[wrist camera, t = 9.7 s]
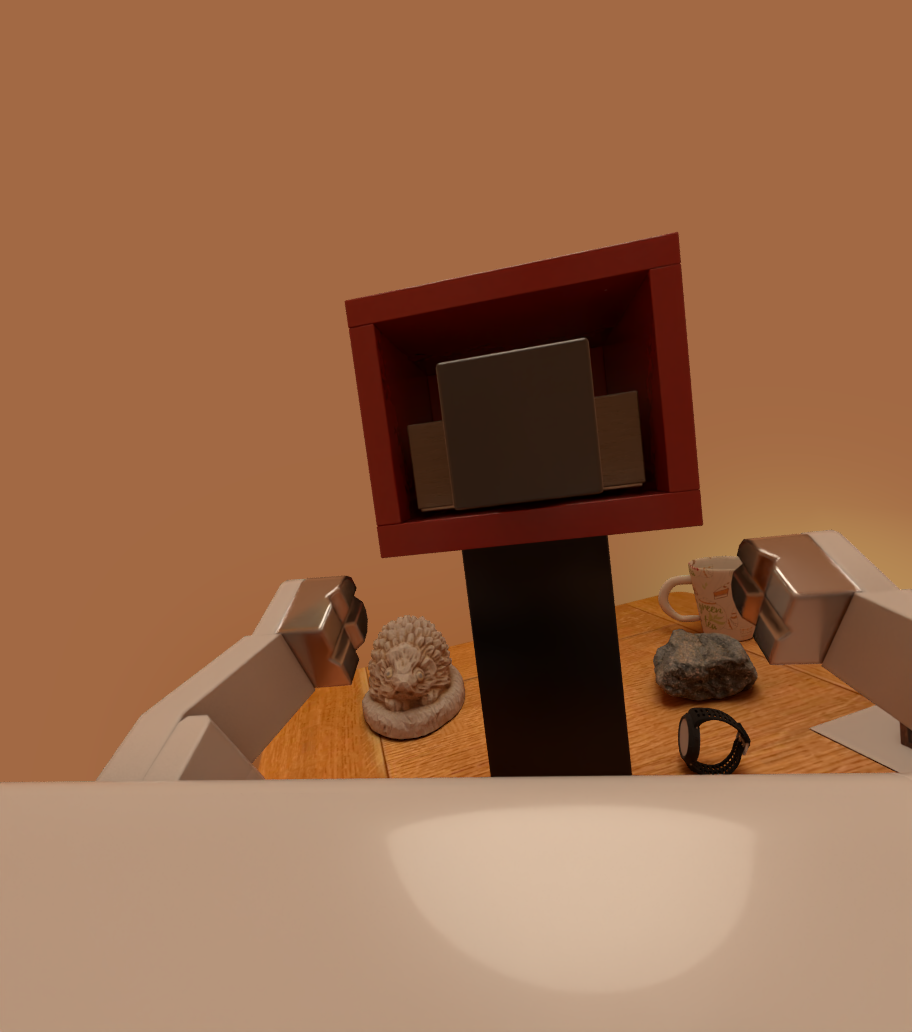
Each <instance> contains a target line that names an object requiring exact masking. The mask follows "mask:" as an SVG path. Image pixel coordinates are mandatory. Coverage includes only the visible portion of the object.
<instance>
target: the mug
mask: <svg viewBox="0 0 912 1032" xmlns="http://www.w3.org/2000/svg"><path fill="white" fill-rule="evenodd" d="M741 564H743V563H742V562H741V560H740V559H739V557H734V556H719V557H706V558H699V559H695V560H692V561H690V562H689V563H688V566H689V572H690V575H684V576H676V577H672V578H670V579H668V580H667V581H666V582H665V583H664V584H663V586H662V587H661V589H660V592H659V604H660V606H661V608H662V610H663V611H664V612H665V613H666V614H667V615H668V616H670V617H672V618H673V619H675V620H678V621H681V622H694V621H700V620H701V624H702V628H703V632H704V633H720V634H724V635H728V636H730V637H732V638H734V639H736V640H738V641H743V640H748V639H750V638H752V637H753V633H754V630H755V626H754V625H753V624H751V623H749V622H748V621H746V620H745V619H743V618H742V617H741V615H740V614H739V612H738V610H737V609H736V606H735V603H734V601H733V598H732V590H731V581H732V575H733V572H734V571H735V570H736V569H737V568H738V567H739V566H740V565H741ZM680 584H692V585H693V590H694V594H695V598H696V602H697V607H698V611H699V615H700V616H698V615H689V616H681V615H679V614H678V613H676V612H675V611H674V610H673V609H672V608H671V606H670V604H669V602H668V595H669V592H670V591H671V589H672V588H673V587H675V586H676V585H680Z"/></svg>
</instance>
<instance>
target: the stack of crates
mask: <svg viewBox="0 0 912 1032" xmlns="http://www.w3.org/2000/svg"><path fill="white" fill-rule="evenodd" d="M810 729H812V730H814V731H816V732H818V733H820V734H822V735H824V736H826V737H828V738H830V739H832V740H834V741H836V742H839V743H841V744H843V745H845V746H847V747H849V748H851V749H853V750H855V751H857V752H859V753H861V754H863V755H865V756H867V757H869V758H871V759H873V760H875V761H877V762H879V763H881V764H883V765H885V766H887V767H889V768H891V769H893V770H895V771H897V772H899V773H912V730H911V729H909V728H908V727H906V726H905V725H904V724H902V723H901V722H899V721H898V720H897V719H895V718H894V717H892V716H891V715H890V714H888V713H887V712H885V711H884V710H883V709H881V708H880V707H878V706H877V705H875V706H872V707H869V708H866V709H864V710H861V711H858V712H855V713H852V714H849V715H846V716H843V717H840V718H837V719H835V720H832V721H829V722H826V723H823V724H820V725H817V726H814V727H811V728H810Z"/></svg>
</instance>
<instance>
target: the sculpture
mask: <svg viewBox="0 0 912 1032" xmlns="http://www.w3.org/2000/svg"><path fill="white" fill-rule="evenodd" d="M373 646H374V650H372V653H371V657H372V659H371V660H370V662H369V665H368V670H370V677H369V683H370V685H371V686H370V688H369V691H368V692H367V693H366V694H365V697H364V699H363V701H362V705H363V713H364V716H365V721H366V722H367V723H368V724H369V725H370V728H371V729H372V730H374V731H375V732H376V733H379V734H381V735H383V736H385V737H390V738H396V739H406V738H415V737H420V736H422V735H423V736H424V735H426V734H428V733H430V732H432V731H434V730H436V729H438V728H439V727H441V726H442V725H444V724H445V723H446V722H447V721H449V720H451V719H452V718H453V717H454V716H455V715H456V714H457V713H458V712H459V710H460V709H461V707H462V705H463V702H464V699H465V689H464V683H463V679H462V676H461V674H460V673H459V671H458V670H457V669H456V668H455V667H454V666H453V665H452V664H451V662H452V660H451V658H449V656H450V652H449V651H448V648H449V647H448V645H447V644H446V641H445V638H444V637H442V634H441V632H437V630H436V629H435V625H434V624H431V623H430V621H427V620H425V618H424V617H423V616H422V617H420V618H419V619H417V618H416V617H415V616H412V617H410V616H409V615H405V616H404V617H403V618H402V617H399V618H398V619H397V621H390V623H388V624H387V625H384V626H383V628H382V632H380V633H379V634H378V639H376V640H375V641H374V644H373Z"/></svg>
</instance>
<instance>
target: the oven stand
mask: <svg viewBox="0 0 912 1032" xmlns="http://www.w3.org/2000/svg"><path fill="white" fill-rule="evenodd" d="M680 263H681V260H680V249H679V235H678V232H675V233H670V234H666V235H661V236H656V237H651V238H646V239H641V240H636V241H632V242H627V243H622V244H617V245H612V246H607V247H603V248H598V249H593V250H588V251H583V252H578V253H574V254H569V255H564V256H559V257H554V258H549V259H544V260H540V261H535V262H530V263H526V264H520V265H516V266H511V267H506V268H501V269H497V270H492V271H487V272H482V273H477V274H472V275H468V276H463V277H457V278H453V279H448V280H443V281H438V282H434V283H429V284H424V285H419V286H414V287H409V288H404V289H399V290H395V291H390V292H385V293H380V294H376V295H371V296H366V297H361V298H356V299H351V300H346V301H345V307H346V314H347V321H348V327H349V328H350V329H349V333H350V339H351V347H352V354H353V361H354V368H355V374H356V382H357V389H358V396H359V403H360V410H361V417H362V424H363V431H364V438H365V445H366V452H367V459H368V466H369V473H370V480H371V487H372V494H373V501H374V508H375V515H376V522H377V526H378V527H377V531H378V538H379V545H380V552H381V557H382V558H388V557H398V556H407V555H417V554H427V553H436V552H447V551H457V550H462V555H463V563H464V571H465V579H466V586H467V594H468V602H469V609H470V618H471V626H472V633H473V641H474V649H475V657H476V665H477V672H478V680H479V688H480V696H481V704H482V711H483V719H484V727H485V735H486V743H487V750H488V758H489V766H490V774H491V777H547V776H632V771H631V761H630V751H629V741H628V731H627V722H626V712H625V702H624V692H623V682H622V672H621V663H620V653H619V643H618V633H617V623H616V613H615V604H614V594H613V584H612V574H611V565H610V555H609V545H608V535H613V534H623V533H633V532H643V531H652V530H662V529H672V528H682V527H692V526H702V525H703V519H702V509H701V508H702V507H701V495H700V490H698V489H700V485H699V473H698V462H697V450H696V437H695V426H694V414H693V402H692V391H691V378H690V366H689V355H688V343H687V332H686V319H685V308H684V295H683V284H682V272H681V264H680ZM579 338H587V340H588V341H589V350H590V360H591V369H592V379H593V389H594V397H597V396H604V395H611V394H617V393H624V392H630V391H638V400H639V411H640V421H641V432H642V443H643V453H644V464H645V475H646V482H644V483H643V486H641V487H633V488H625V489H617V490H608V491H603V492H601V493H600V494H592V495H584V496H575V497H567V498H558V499H550V500H541V501H533V502H524V503H516V504H507V505H498V506H490V507H481V508H473V509H464V510H456V509H447V510H439V511H430V512H422V511H421V509H418V506H417V498H416V491H415V483H414V476H413V469H412V461H411V454H410V446H409V439H408V432H407V426H408V425H414V424H421V423H427V422H434V421H440V420H442V412H441V404H440V396H439V389H438V381H437V373H436V366H437V364H439V363H442V362H448V361H454V360H459V359H465V358H471V357H476V356H482V355H488V354H493V353H499V352H505V351H511V350H516V349H522V348H528V347H533V346H539V345H545V344H551V343H556V342H562V341H568V340H573V339H579Z"/></svg>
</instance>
